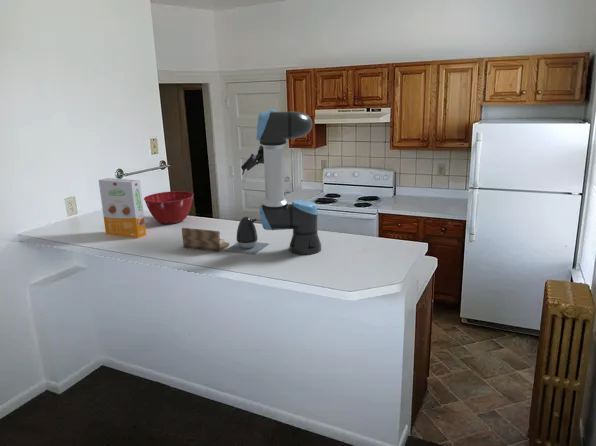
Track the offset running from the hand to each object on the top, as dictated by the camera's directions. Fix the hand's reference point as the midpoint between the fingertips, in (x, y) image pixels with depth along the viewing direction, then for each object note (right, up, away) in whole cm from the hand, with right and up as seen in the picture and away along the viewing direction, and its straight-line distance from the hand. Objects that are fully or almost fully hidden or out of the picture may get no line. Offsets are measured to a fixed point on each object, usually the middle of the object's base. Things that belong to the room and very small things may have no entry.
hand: (255, 181), depth 233 cm
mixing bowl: (-54, -20, +45) cm, 73 cm away
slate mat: (-3, -33, -7) cm, 34 cm away
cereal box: (-72, -27, +19) cm, 80 cm away
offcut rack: (-24, -32, -4) cm, 40 cm away
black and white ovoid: (-3, -33, -7) cm, 33 cm away
